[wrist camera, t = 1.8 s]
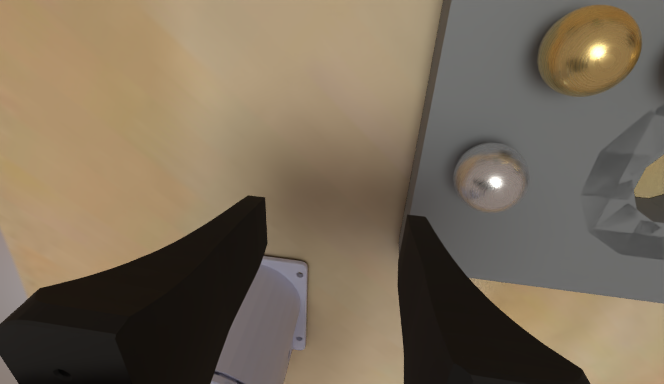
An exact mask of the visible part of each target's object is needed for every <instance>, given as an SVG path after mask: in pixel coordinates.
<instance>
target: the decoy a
mask: <svg viewBox="0 0 664 384" xmlns="http://www.w3.org/2000/svg"><path fill="white" fill-rule="evenodd" d="M641 49H642V35H641V30H640V28H639V26H638V24H637V22H636V21H635V19H634V18H633V17H632V16H631V15H630V14H628V13H627V12H626V11H624V10H622V9H620V8H617V7H614V6H610V5H591V6H586V7H582V8H579V9H576V10H574V11H572V12H570V13H568V14H566V15H565V16H563V17H562V18H561V19H559V20H558V21H557V22H556V23H555V24H554V25H553V26H552V27H551V28H550V29H549V30H548V31H547V33H546V34H545V36H544V38H543V40H542V42H541V44H540V47H539V51H538V57H537V64H538V69H539V72H540V75H541V77H542V79H543V80H544V82H545V83H546V84H547V85H548V86H549V87H550V88H551V89H553V90H554V91H556V92H558V93H561V94H563V95H567V96H572V97H586V96H593V95H596V94H600V93H602V92H605V91H607V90H609V89H611V88H613V87H614V86H616V85H617V84H619V83H620V82H621V81H622V80H624V79H625V78H626V77H627V76H628V74H629V73H630V72H631V71H632V69H633V68H634V67H635V65H636V63H637V61H638V59H639V56H640V53H641Z"/></svg>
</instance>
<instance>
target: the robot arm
mask: <svg viewBox="0 0 664 384" xmlns="http://www.w3.org/2000/svg"><path fill="white" fill-rule="evenodd" d="M266 246H267V226H266V206H265V197H256V196H247V197H245V198H244V199H242V200H241V201H239V202H238V203H236V204H235V205H233V206H232V207H231V208H229V209H228V210H226V211H225V212H223V213H222V214H220V215H219V216H217V217H216V218H214V219H213V220H211V221H210V222H208V223H207V224H205V225H203V226H202V227H200V228H198V229H197V230H195V231H193V232H192V233H190V234H188V235H187V236H185V237H183V238H181V239H180V240H178V241H176V242H174V243H172V244H170V245H168V246H166V247H164V248H162V249H160V250H158V251H155V252H153V253H151V254H148V255H146V256H143V257H141V258H138V259H136V260H134V261H131V262H129V263H126V264H123V265H121V266H118V267H115V268H112V269H109V270H106V271H103V272H100V273H97V274H93V275H90V276H87V277H83V278H80V279H76V280H72V281H68V282H64V283H60V284H56V285H52V286H48V287H43V288H40V289H38V290H37V291H36V292H35V293H34V294H33V295H32V296H31V297H30V298H28V299H27V300H26V301H25V302H24V303H23V304H22V305H21V306H20V307H19V308H17V310H15V311H14V312H13V313H12V314H11V315H10V316H9V317H8V318H6V319H5V320H4V321H3V322H2V323H1V324H0V356H1V357H2V359H3V360H4V362H5V363H6V365H7V366H8V368H9V370H10V371H11V373H12V374H13V376H14V377H15V379H16V380H17V382H18V383H19V384H283V383H284V379H285V376H286V372H287V368H288V364H289V360H290V356H291V353H292V349H295V350H303V349H305V346H306V320H307V279H308V266H307V264H306V263H305V262H303V261H298V260H290V259H283V258H275V257H268V256H264V252H265V249H266ZM298 272H301V273H303V274H300V273H298ZM398 295H399V306H400V316H401V326H402V336H403V348H404V384H590V382H589V381H588V379H587V377H586V375H585V374H584V372H583V370H582V369H581V368H579V367H578V366H576V365H575V364H573V363H572V362H570V361H569V360H567V359H566V358H564V357H562V356H561V355H559V354H558V353H556V352H555V351H553V350H552V349H550V348H549V347H547V346H546V345H544V344H543V343H541V342H540V341H539V340H537V339H536V338H535V337H533V336H532V335H531V334H529V333H528V332H527V331H525V330H524V329H523V328H521V327H520V326H519V325H518V324H516V323H515V322H514V321H513V320H512V319H510V318H509V317H508V316H507V315H506V314H505V313H503V312H502V311H501V310H500V309H499V308H498V307H497V306H495V305H494V304H493V303H492V302H491V301H490V300H489V299H488V298H487V297H486V296H485V295H484V294H483V293H482V292H481V291H480V290H479V289H478V288H477V287H476V286H475V285H474V284H473V283H472V281H471V280H470V279H469V278H468V277H467V276H466V274H465V273H464V272H463V271H462V270H461V268H460V267H459V266H458V264H457V263H456V262H455V260H454V259H453V258H452V256H451V255H450V254H449V252H448V251H447V249H446V248H445V246H444V245H443V243H442V242H441V240H440V239H439V237H438V236H437V234H436V233H435V231H434V229H433V228H432V226H431V224H430V223H429V221H428V219H427V218H426V217H424V216H416V215H408V214H407V218H406V223H405V228H404V234H403V239H402V244H401V249H400V255H399V260H398Z"/></svg>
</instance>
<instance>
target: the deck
mask: <svg viewBox="0 0 664 384" xmlns="http://www.w3.org/2000/svg"><path fill="white" fill-rule="evenodd" d="M591 5H610V6H614V7H617V8H620V9H622V10H624V11H626V12H627V13H628V14H630V15H631V16H632V17H633V18H634V19H635V21H636V22H637V24H638V26H639V28H640V30H641V35H642V49H641V53H640V56H639V59H638V61H637V63H636V65H635V67H634V68H633V69H632V71H631V72H630V73H629V74H628V76H627V77H626V78H625V79H624V80H622V81H621V82H620V83H619V84H617V85H616V86H614V87H613V88H611V89H609V90H607V91H605V92H602V93H600V94H596V95H593V96H586V97H572V96H567V95H563V94H561V93H558V92H556V91H554V90H553V89H551V88H550V87H549V86H548V85H547V84H546V83H545V82H544V80H543V79H542V77H541V75H540V72H539V69H538V64H537V57H538V51H539V47H540V44H541V42H542V40H543V38H544V36H545V34H546V33H547V31H548V30H549V29H550V28H551V27H552V26H553V25H554V24H555V23H556V22H557V21H558V20H559V19H561V18H562V17H563V16H565V15H566V14H568V13H570V12H572V11H574V10H576V9H579V8H582V7H586V6H591ZM484 143H500V144H504V145H507V146H509V147H511V148H513V149H515V150H516V151H517V152H519V153H520V154H521V155H522V157H523V158H524V159H525V161H526V163H527V165H528V168H529V172H530V183H529V187H528V190H527V192H526V194H525V196H524V197H523V198H522V200H521V201H520V202H519V203H518V204H516V205H515V206H514V207H512V208H510V209H508V210H506V211H503V212H499V213H483V212H479V211H476V210H474V209H472V208H470V207H469V206H467V205H466V204H465V203H464V202H463V201H462V200H461V199H460V198H459V196H458V194H457V192H456V190H455V187H454V181H453V175H454V170H455V167H456V165H457V162H458V161H459V159H460V158H461V157H462V155H463V154H464V153H466V152H467V151H468V150H470V149H471V148H473V147H475V146H477V145H480V144H484ZM662 155H664V0H443V5H442V11H441V16H440V21H439V27H438V32H437V38H436V43H435V48H434V54H433V59H432V65H431V70H430V76H429V81H428V86H427V92H426V97H425V103H424V108H423V113H422V119H421V124H420V130H419V135H418V141H417V146H416V151H415V157H414V162H413V168H412V173H411V178H410V184H409V189H408V195H407V200H406V205H405V211H404V216H403V222H402V227H401V233H400V238H399V255H400V249H401V244H402V239H403V234H404V228H405V223H406V218H407V214H408V215H416V216H424V217H426V218H427V219H428V221H429V223H430V224H431V226H432V228H433V229H434V231H435V233H436V234H437V236H438V237H439V239H440V240H441V242H442V243H443V245H444V246H445V248H446V249H447V251H448V252H449V254H450V255H451V256H452V258H453V259H454V260H455V262H456V263H457V264H458V266H459V267H460V268H461V270H462V271H463V272H464V273H465V274H466V276H467V277H468V278H475V279H483V280H490V281H498V282H505V283H513V284H520V285H528V286H536V287H543V288H551V289H558V290H566V291H573V292H581V293H589V294H596V295H604V296H611V297H619V298H626V299H634V300H641V301H649V302H657V303H664V195H660V196H657V197H653V198H640V197H635V196H634V188H635V187H636V185H637V183H638V181H639V179H640V177H641V176H642V174H643V172H644V170H645V168H646V167H647V166H649V165H650V164H652V163H653V162H654V161H656V160H657V159H658V158H660V157H661V156H662Z"/></svg>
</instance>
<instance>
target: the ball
mask: <svg viewBox="0 0 664 384" xmlns="http://www.w3.org/2000/svg"><path fill="white" fill-rule="evenodd" d="M453 181H454V187H455V190H456V192H457V194H458V196H459V198H460V199H461V200H462V201H463V202H464V203H465V204H466V205H467V206H469V207H470V208H472V209H474V210H476V211H479V212H483V213H499V212H503V211H506V210H508V209H510V208H512V207H514V206H515V205H516V204H518V203H519V202H520V201H521V200H522V198H523V197H524V196H525V194H526V192H527V190H528V187H529V183H530V172H529V168H528V165H527V163H526V161H525V159H524V158H523V157H522V155H521V154H520V153H519V152H517V151H516V150H515V149H513V148H511V147H509V146H507V145H504V144H500V143H484V144H480V145H477V146H475V147H473V148H471V149H470V150H468V151H467V152H466V153H464V154H463V155H462V157H461V158H460V159H459V161H458V162H457V165H456V167H455V170H454V175H453Z"/></svg>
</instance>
